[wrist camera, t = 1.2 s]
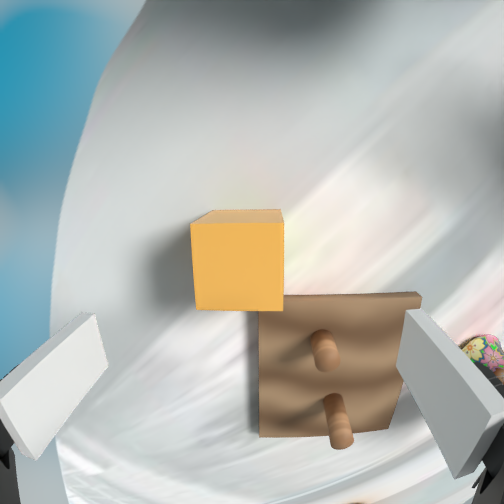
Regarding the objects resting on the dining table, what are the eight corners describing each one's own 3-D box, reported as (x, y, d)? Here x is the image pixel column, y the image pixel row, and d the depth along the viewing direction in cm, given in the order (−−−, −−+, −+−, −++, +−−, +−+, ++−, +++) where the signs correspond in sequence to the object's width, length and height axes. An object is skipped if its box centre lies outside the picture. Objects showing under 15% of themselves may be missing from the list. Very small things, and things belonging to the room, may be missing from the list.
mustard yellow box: (212, 210, 28) (190, 223, 20) (280, 209, 27) (284, 222, 20) (215, 274, 29) (196, 309, 21) (280, 274, 29) (283, 311, 21)
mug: (462, 398, 32) (495, 447, 21) (431, 373, 31) (468, 429, 20) (518, 332, 29) (563, 370, 18) (495, 297, 28) (549, 335, 18)
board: (258, 295, 29) (254, 336, 22) (416, 291, 28) (453, 325, 21) (259, 428, 34) (256, 478, 26) (385, 421, 33) (402, 465, 25)
